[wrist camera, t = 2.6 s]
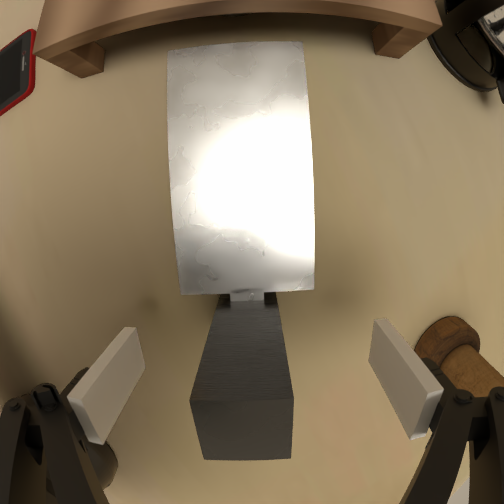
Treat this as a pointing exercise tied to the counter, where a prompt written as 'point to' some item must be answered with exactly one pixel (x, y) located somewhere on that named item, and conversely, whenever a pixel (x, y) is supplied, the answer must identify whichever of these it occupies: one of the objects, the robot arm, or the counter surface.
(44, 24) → the low bench
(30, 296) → the counter surface
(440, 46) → the french press
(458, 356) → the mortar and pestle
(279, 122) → the scraper
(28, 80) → the cell phone
